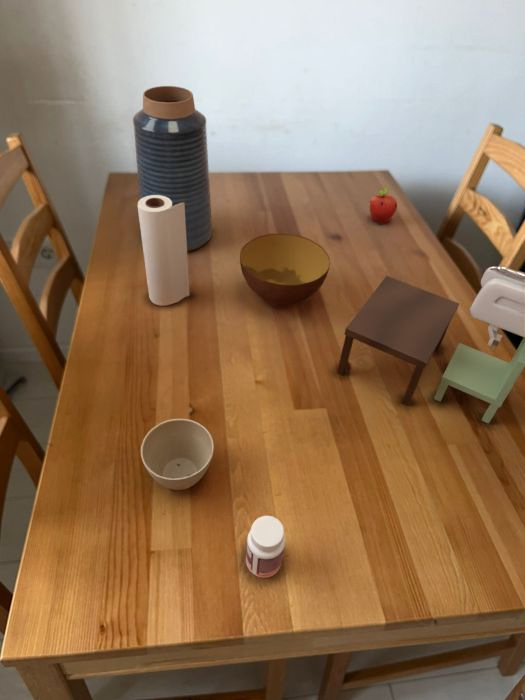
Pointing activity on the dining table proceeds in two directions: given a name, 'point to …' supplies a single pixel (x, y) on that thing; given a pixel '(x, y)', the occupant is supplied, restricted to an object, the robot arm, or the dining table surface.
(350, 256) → the dining table surface
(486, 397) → the chair
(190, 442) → the flower pot
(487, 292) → the robot arm
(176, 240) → the paper towel roll
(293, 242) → the bowl
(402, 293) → the toy table
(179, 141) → the vase
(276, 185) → the dining table surface
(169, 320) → the dining table surface
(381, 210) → the red round fruit
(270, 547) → the pill bottle
